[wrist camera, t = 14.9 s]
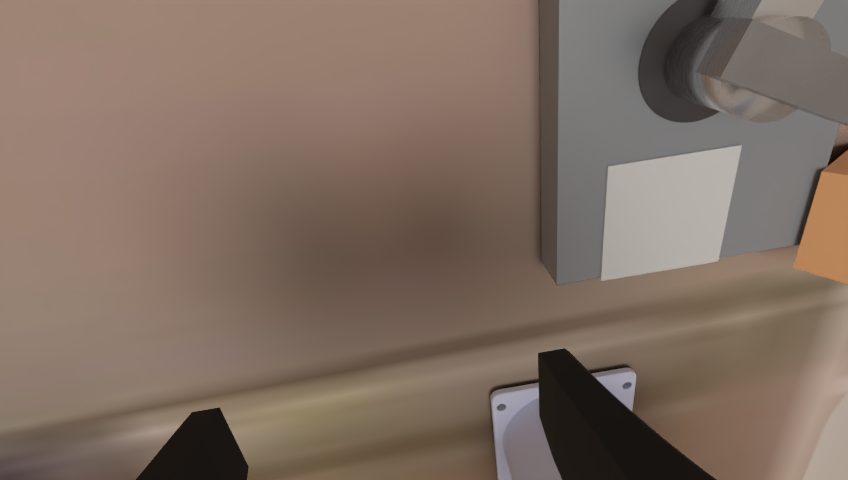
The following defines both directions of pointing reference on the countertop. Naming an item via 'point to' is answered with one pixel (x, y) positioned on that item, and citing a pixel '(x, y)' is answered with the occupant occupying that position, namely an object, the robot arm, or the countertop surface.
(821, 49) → the lever handle
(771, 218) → the box
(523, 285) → the countertop surface
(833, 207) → the orange cube
